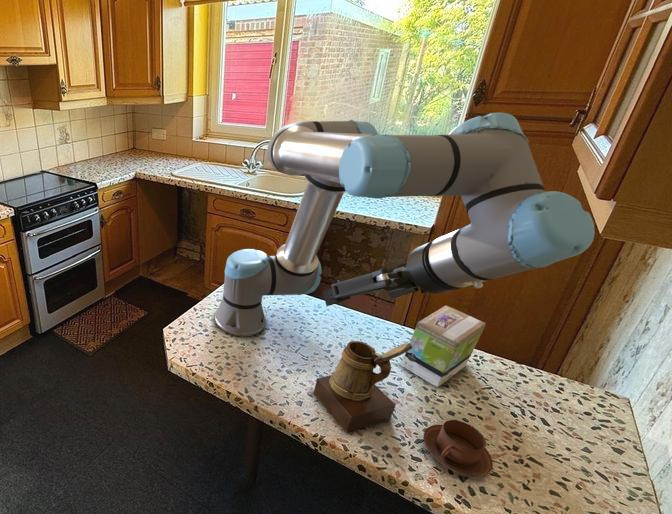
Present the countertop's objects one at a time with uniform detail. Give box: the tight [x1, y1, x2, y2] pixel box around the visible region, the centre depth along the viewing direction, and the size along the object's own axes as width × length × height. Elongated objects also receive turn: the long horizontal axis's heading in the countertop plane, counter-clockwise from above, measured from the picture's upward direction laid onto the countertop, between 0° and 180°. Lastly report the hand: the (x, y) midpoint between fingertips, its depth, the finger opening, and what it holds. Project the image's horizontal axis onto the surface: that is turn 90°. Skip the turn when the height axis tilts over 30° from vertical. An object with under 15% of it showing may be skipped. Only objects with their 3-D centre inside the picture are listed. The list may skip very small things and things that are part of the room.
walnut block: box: [313, 374, 397, 433], centre depth 94 cm, size 12×12×5 cm
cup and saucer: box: [423, 419, 494, 478], centre depth 82 cm, size 12×12×6 cm
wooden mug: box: [330, 340, 412, 401], centre depth 88 cm, size 9×14×18 cm, turn 39°
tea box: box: [400, 305, 486, 388], centre depth 104 cm, size 15×10×15 cm, turn 123°
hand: (358, 295), depth 76 cm, fingers open, 13 cm apart
